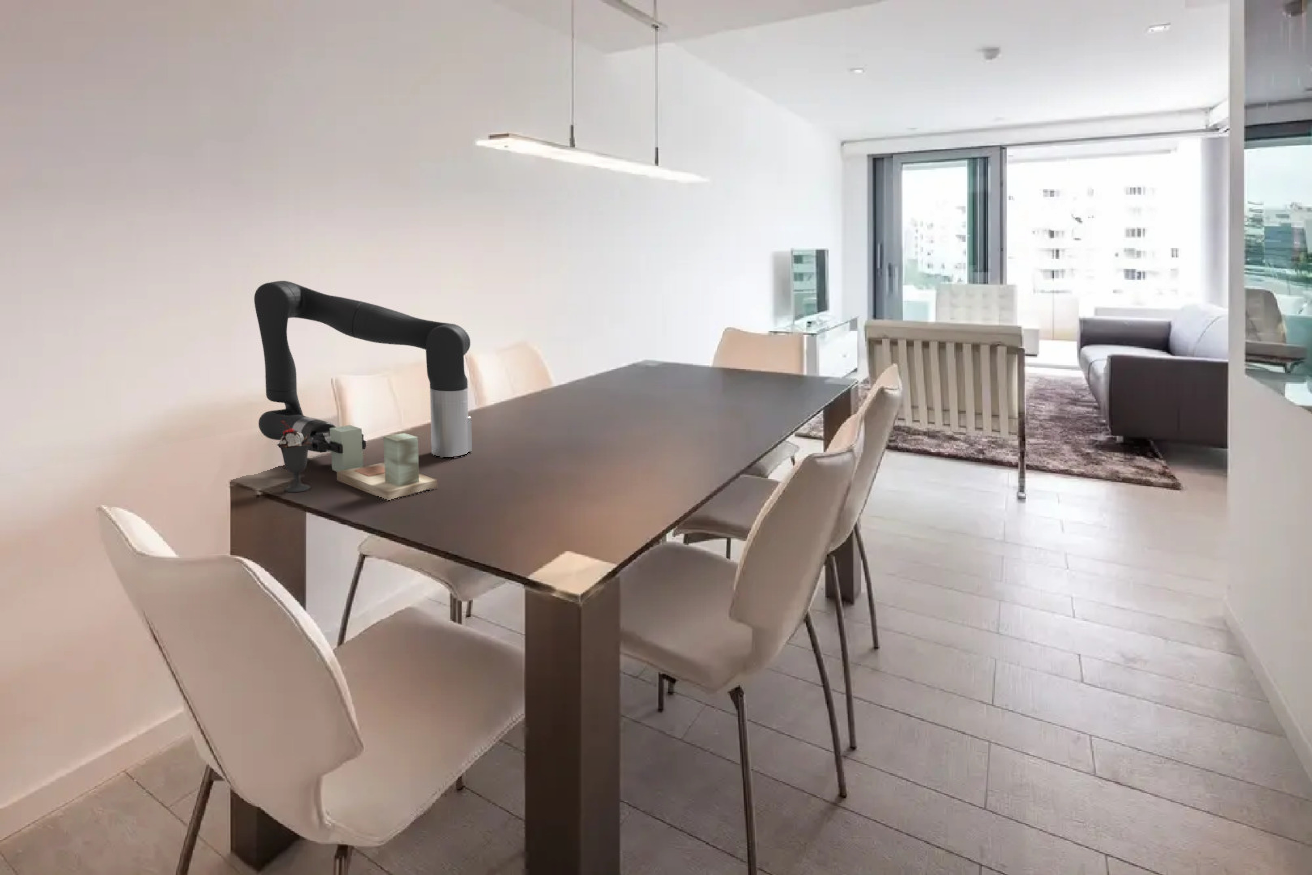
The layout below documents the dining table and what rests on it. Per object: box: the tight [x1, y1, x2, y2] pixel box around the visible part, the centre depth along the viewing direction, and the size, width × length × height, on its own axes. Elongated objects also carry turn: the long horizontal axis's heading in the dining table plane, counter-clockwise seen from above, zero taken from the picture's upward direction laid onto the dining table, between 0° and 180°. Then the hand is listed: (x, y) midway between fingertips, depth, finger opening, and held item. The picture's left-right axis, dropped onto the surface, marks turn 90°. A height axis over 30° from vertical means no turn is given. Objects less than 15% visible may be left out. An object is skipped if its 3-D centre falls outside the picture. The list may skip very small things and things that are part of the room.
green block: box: [330, 424, 364, 473], centre depth 171 cm, size 5×5×10 cm
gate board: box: [336, 432, 438, 501], centre depth 161 cm, size 12×20×12 cm, turn 52°
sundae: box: [276, 421, 312, 493], centre depth 155 cm, size 7×7×15 cm
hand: (352, 447), depth 169 cm, fingers closed on green block, 5 cm apart
